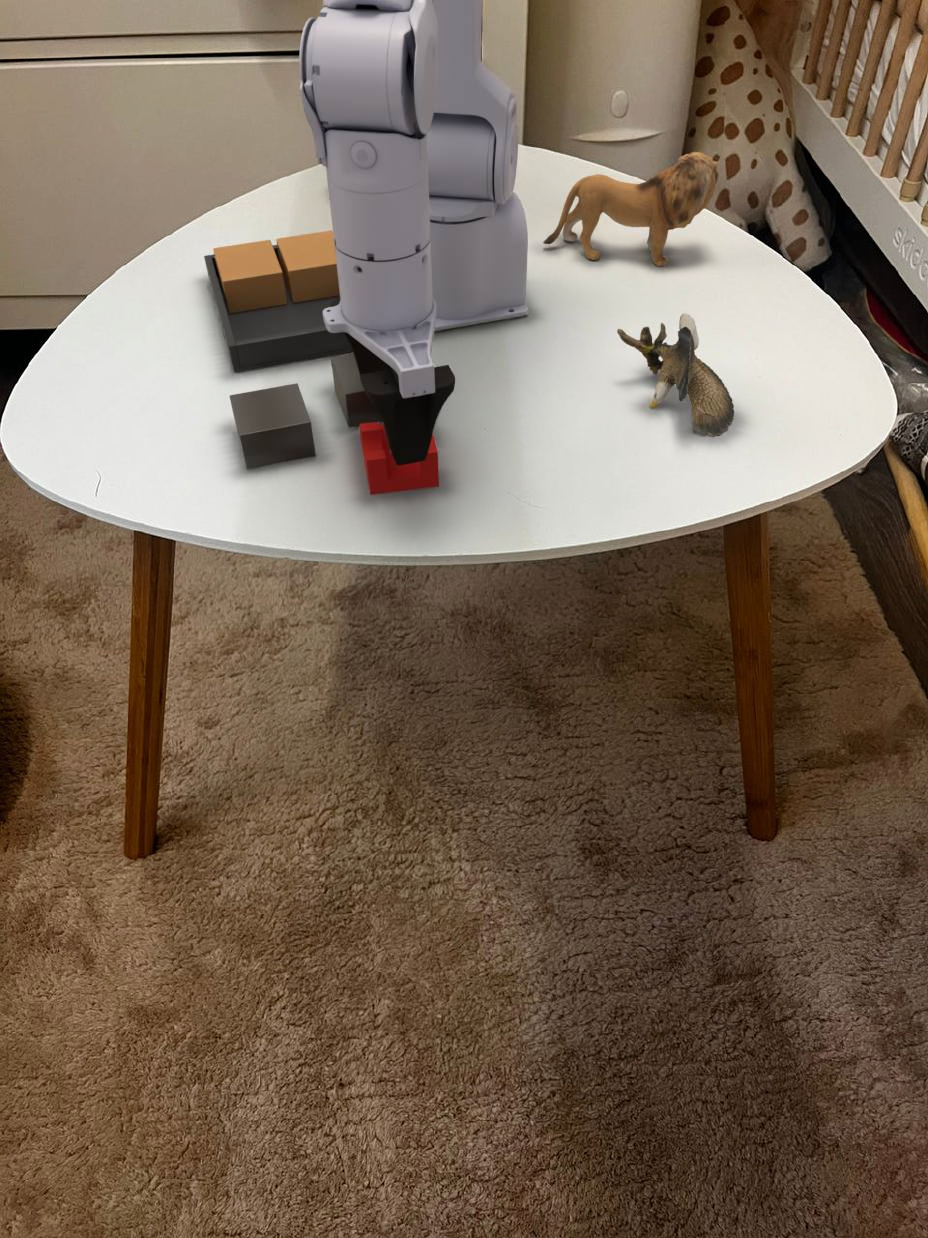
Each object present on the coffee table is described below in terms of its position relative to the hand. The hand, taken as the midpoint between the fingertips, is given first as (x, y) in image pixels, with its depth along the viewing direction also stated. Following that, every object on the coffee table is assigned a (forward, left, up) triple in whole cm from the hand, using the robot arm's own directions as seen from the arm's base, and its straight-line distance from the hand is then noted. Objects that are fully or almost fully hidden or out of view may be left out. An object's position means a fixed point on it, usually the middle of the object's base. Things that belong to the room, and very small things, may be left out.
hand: (395, 427), depth 69 cm
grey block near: (0, -8, -3) cm, 8 cm away
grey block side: (+8, -5, -3) cm, 10 cm away
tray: (+3, -23, -3) cm, 23 cm away
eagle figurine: (-22, -1, -3) cm, 22 cm away
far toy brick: (+1, -26, -3) cm, 26 cm away
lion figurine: (-28, -24, -3) cm, 37 cm away
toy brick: (+6, -26, -3) cm, 27 cm away
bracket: (0, 0, -3) cm, 3 cm away
